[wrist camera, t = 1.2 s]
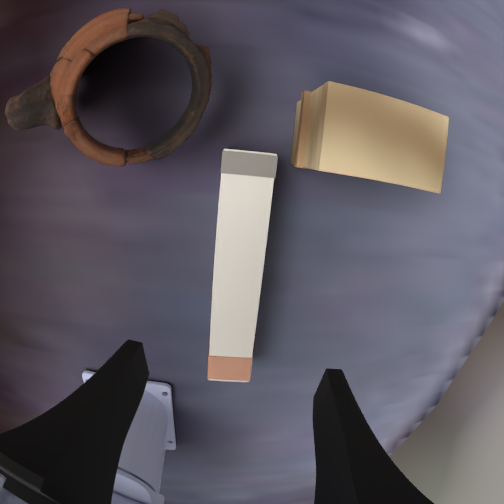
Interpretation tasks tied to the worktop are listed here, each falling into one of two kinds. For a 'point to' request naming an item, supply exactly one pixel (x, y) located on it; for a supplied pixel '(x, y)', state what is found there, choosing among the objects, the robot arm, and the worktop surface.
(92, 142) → the pottery mug
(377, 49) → the worktop surface
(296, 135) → the tan wooden brick
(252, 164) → the white bar
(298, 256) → the worktop surface
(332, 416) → the robot arm
